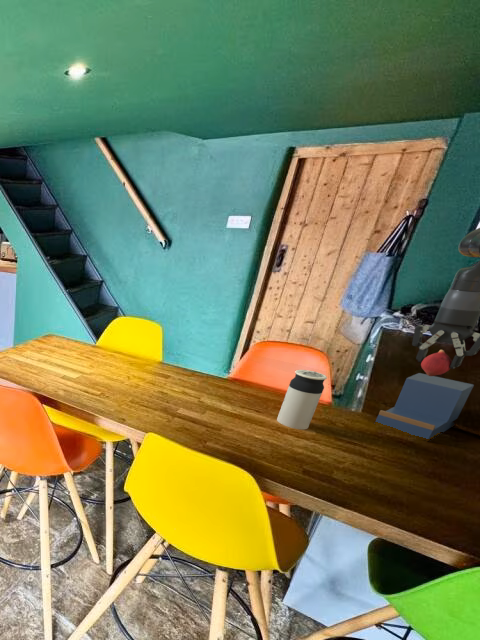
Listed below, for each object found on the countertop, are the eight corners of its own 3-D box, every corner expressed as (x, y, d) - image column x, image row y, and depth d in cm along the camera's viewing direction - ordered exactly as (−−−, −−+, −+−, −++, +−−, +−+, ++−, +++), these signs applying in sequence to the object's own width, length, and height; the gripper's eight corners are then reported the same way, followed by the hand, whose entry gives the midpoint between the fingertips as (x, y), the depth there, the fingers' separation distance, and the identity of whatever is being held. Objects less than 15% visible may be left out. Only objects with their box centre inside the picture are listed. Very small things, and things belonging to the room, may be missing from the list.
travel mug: (313, 431, 124) (335, 377, 117) (294, 434, 122) (315, 379, 115) (287, 419, 131) (306, 368, 124) (269, 422, 129) (288, 370, 122)
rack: (402, 411, 137) (419, 372, 132) (453, 425, 127) (474, 384, 122) (373, 425, 127) (390, 384, 122) (426, 442, 117) (447, 398, 112)
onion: (446, 377, 117) (460, 351, 114) (442, 381, 114) (456, 354, 111) (418, 371, 121) (430, 346, 118) (414, 374, 118) (426, 348, 115)
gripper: (506, 309, 106) (477, 369, 112) (429, 301, 118) (407, 356, 124) (498, 312, 103) (468, 374, 109) (419, 304, 114) (396, 360, 121)
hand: (435, 364), depth 116 cm, fingers closed on onion, 6 cm apart
